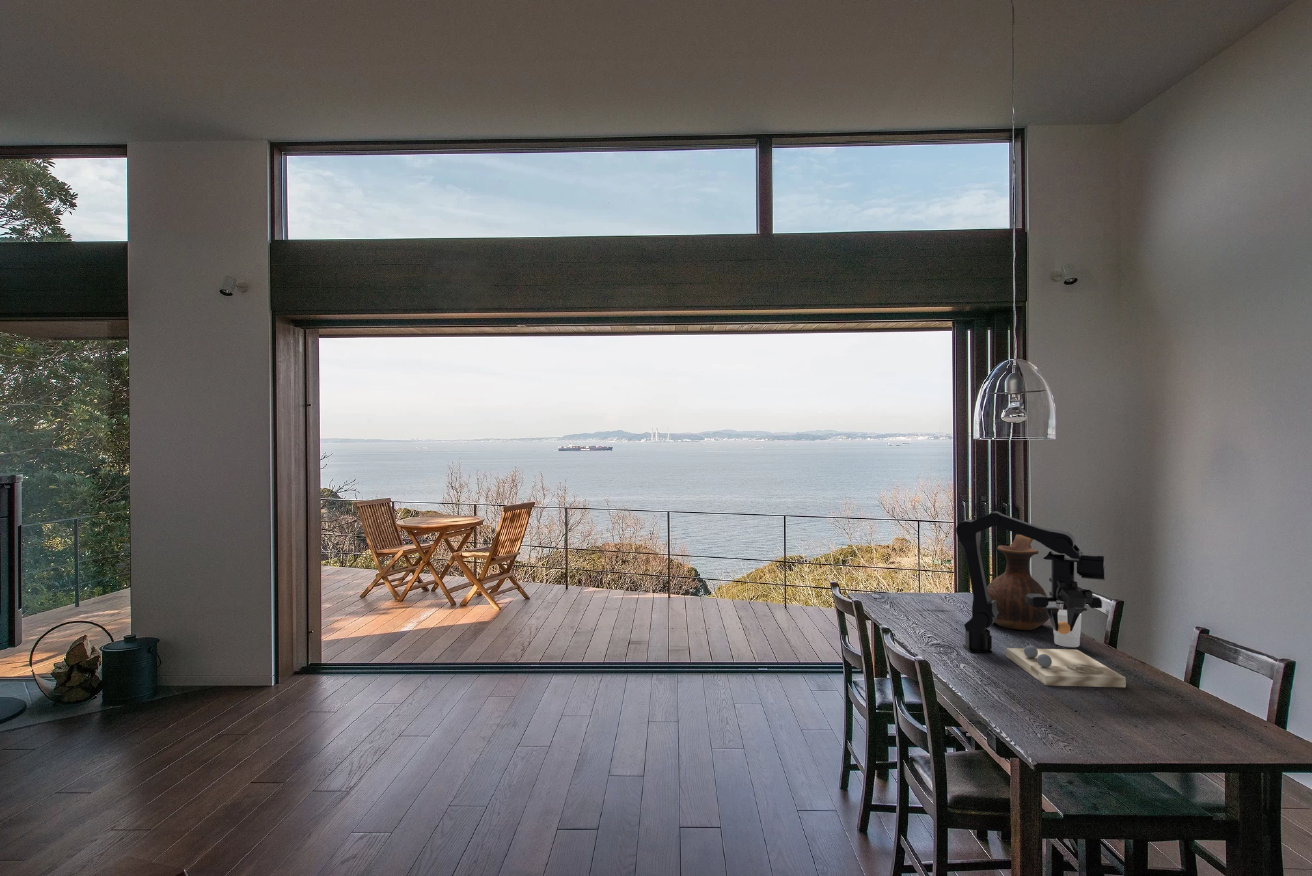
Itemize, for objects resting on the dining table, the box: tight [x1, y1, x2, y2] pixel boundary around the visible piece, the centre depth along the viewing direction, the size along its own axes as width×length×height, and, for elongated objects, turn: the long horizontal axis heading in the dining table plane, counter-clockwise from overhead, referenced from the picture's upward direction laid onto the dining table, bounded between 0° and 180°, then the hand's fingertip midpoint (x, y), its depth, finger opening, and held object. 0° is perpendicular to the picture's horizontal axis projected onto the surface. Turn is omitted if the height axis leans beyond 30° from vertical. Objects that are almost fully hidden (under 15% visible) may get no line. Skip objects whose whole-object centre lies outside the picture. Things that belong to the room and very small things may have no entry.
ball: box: [1058, 621, 1070, 634], centre depth 199 cm, size 4×4×4 cm
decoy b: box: [1037, 654, 1052, 668], centre depth 188 cm, size 4×4×4 cm
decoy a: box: [1024, 644, 1038, 658], centre depth 196 cm, size 4×4×4 cm
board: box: [1005, 647, 1127, 688], centre depth 193 cm, size 20×24×2 cm
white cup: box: [1052, 609, 1082, 648], centre depth 218 cm, size 8×8×10 cm
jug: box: [987, 534, 1050, 631], centre depth 240 cm, size 22×22×30 cm
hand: (1063, 630), depth 199 cm, fingers closed on ball, 3 cm apart
